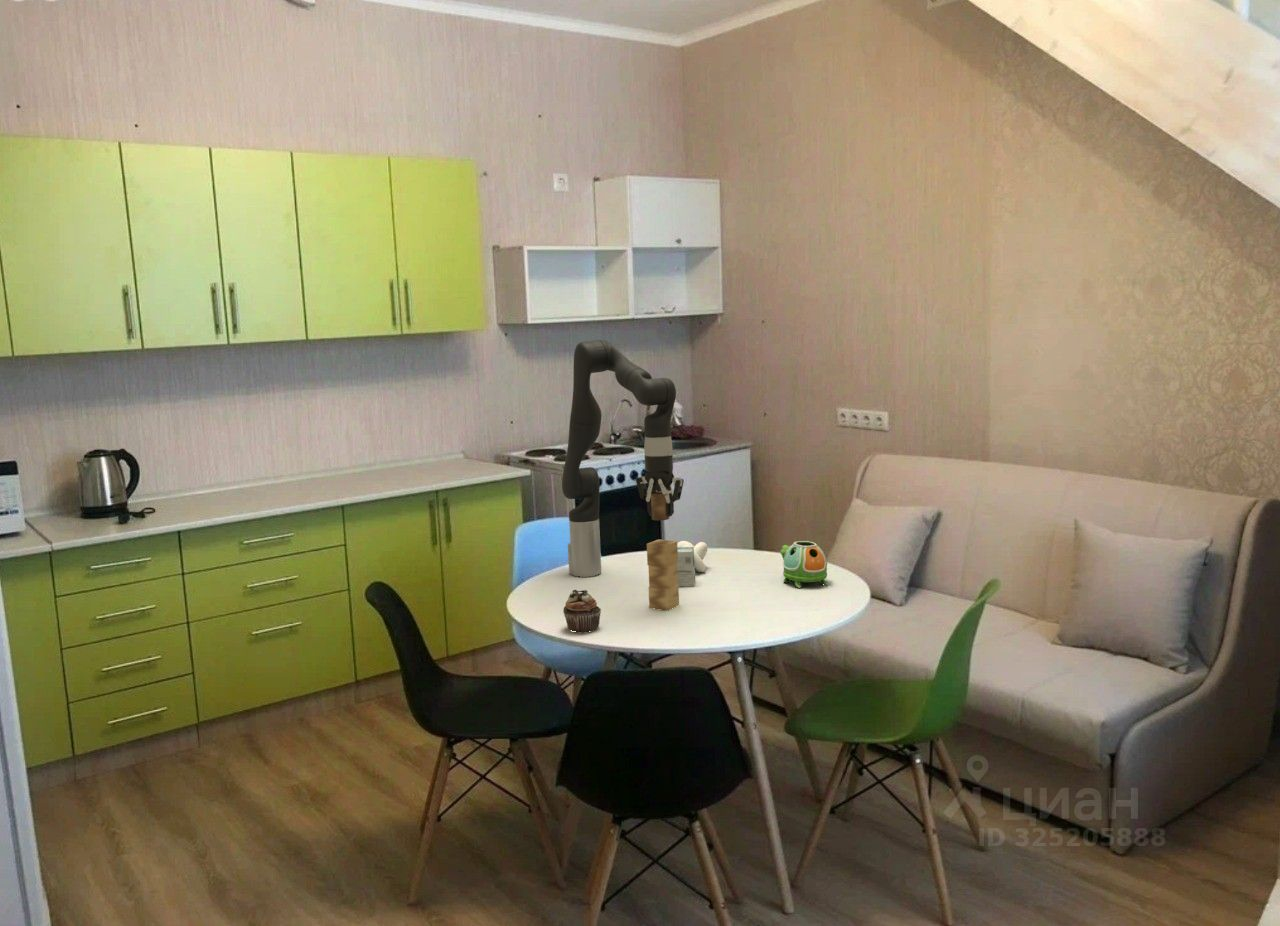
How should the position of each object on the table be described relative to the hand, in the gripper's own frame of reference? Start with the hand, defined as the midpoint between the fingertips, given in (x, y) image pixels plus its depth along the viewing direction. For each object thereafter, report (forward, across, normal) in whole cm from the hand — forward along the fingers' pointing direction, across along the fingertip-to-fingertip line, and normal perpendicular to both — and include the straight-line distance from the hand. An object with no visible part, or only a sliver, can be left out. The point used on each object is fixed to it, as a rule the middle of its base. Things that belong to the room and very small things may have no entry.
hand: (660, 515), depth 277 cm
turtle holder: (+26, +25, +38) cm, 52 cm away
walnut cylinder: (+1, 0, 0) cm, 1 cm away
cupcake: (+26, -10, -25) cm, 37 cm away
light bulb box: (+26, -8, +22) cm, 35 cm away
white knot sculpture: (+26, -12, +37) cm, 47 cm away
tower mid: (+20, 0, 0) cm, 20 cm away
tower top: (+14, 0, 0) cm, 14 cm away
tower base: (+26, 0, 0) cm, 26 cm away
